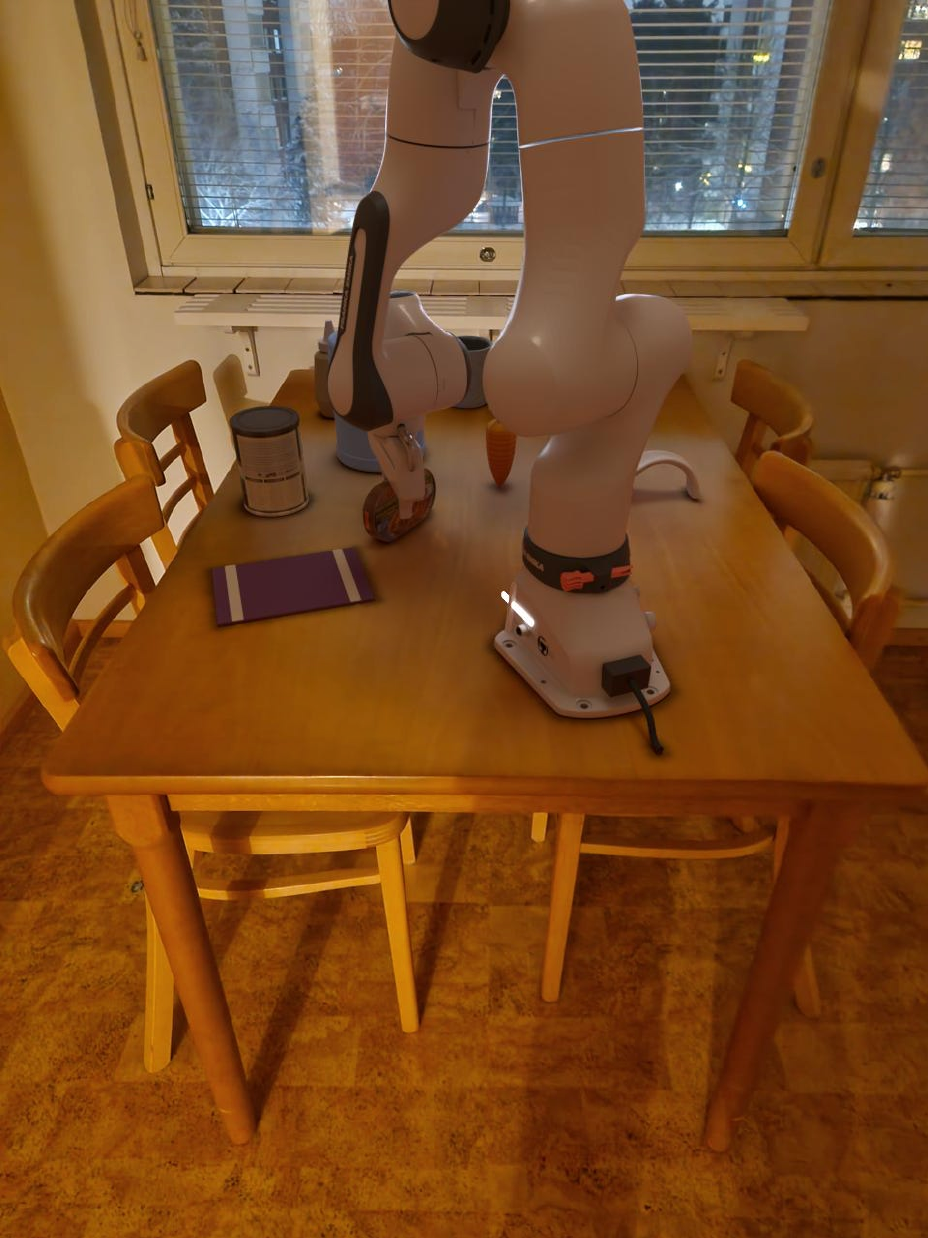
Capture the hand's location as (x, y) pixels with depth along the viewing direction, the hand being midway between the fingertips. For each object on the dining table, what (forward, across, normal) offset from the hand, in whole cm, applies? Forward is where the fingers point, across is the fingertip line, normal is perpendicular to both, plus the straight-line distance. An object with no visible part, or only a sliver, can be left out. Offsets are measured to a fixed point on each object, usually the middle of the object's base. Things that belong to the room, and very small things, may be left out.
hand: (397, 502), depth 120 cm
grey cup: (+5, +48, -27) cm, 55 cm away
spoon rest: (+4, -1, -37) cm, 38 cm away
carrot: (+4, +8, -19) cm, 22 cm away
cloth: (+4, -12, +18) cm, 22 cm away
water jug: (+5, +26, -4) cm, 27 cm away
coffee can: (+5, +14, +17) cm, 22 cm away
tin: (+4, 0, 0) cm, 4 cm away
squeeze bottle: (+5, +50, 0) cm, 50 cm away
